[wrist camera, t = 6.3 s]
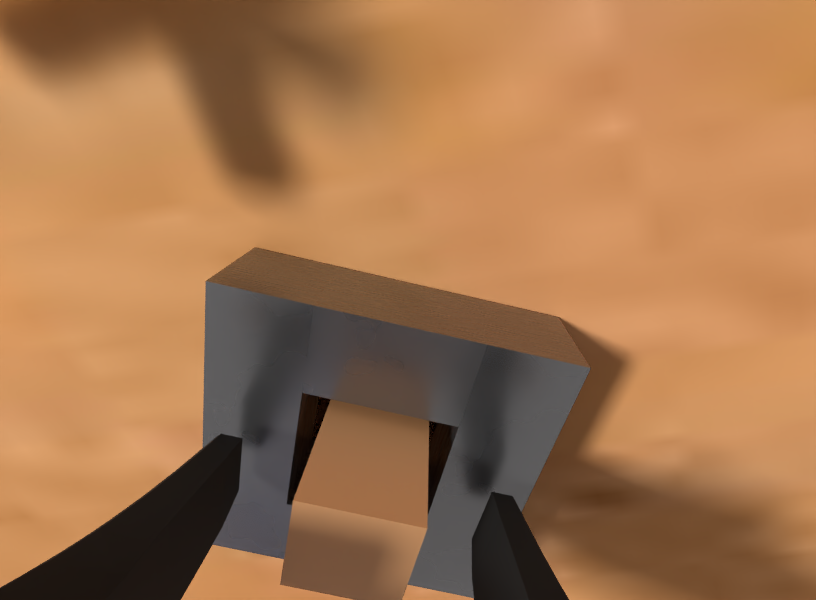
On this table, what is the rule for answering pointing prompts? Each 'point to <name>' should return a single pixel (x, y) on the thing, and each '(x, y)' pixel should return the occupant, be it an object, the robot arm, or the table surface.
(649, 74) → the table surface
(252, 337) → the grey square frame
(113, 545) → the robot arm
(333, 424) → the tan wooden block
